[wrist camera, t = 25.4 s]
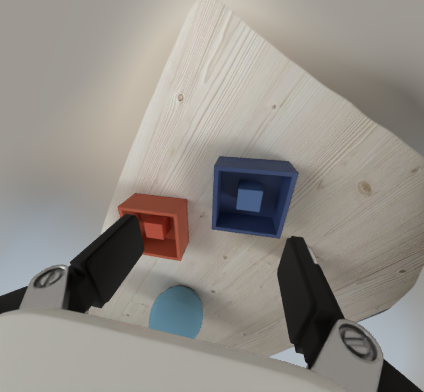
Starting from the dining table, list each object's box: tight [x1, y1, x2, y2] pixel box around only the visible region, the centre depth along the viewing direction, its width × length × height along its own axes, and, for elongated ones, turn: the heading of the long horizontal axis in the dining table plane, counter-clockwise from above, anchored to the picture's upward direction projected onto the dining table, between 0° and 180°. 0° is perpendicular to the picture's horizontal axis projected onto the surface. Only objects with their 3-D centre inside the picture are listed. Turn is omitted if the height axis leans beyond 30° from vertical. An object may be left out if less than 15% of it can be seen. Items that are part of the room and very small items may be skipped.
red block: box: [144, 214, 171, 240], centre depth 42 cm, size 4×4×4 cm
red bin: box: [118, 193, 189, 261], centre depth 42 cm, size 14×14×7 cm
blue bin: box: [212, 156, 298, 239], centre depth 34 cm, size 14×14×7 cm
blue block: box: [236, 180, 263, 212], centre depth 34 cm, size 4×4×4 cm
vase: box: [149, 286, 203, 339], centre depth 48 cm, size 16×17×25 cm
